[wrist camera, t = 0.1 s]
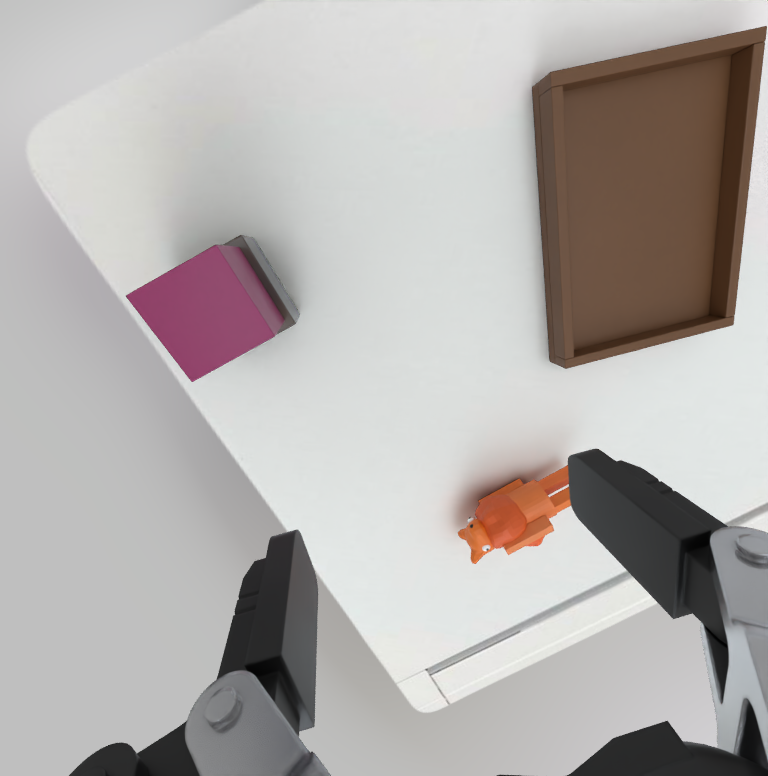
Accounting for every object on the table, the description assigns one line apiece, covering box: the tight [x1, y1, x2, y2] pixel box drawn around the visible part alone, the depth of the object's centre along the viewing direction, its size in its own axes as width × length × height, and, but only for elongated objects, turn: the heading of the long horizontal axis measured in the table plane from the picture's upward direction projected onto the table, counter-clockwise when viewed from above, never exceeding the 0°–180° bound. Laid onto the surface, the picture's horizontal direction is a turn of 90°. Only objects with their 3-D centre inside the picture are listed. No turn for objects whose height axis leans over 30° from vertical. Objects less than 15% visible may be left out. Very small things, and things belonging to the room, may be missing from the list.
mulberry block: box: [126, 245, 285, 382], centre depth 21 cm, size 5×5×5 cm
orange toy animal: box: [458, 465, 571, 564], centre depth 35 cm, size 5×8×12 cm
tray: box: [532, 26, 767, 369], centre depth 28 cm, size 20×15×2 cm
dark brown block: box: [223, 235, 300, 335], centre depth 25 cm, size 6×6×4 cm
